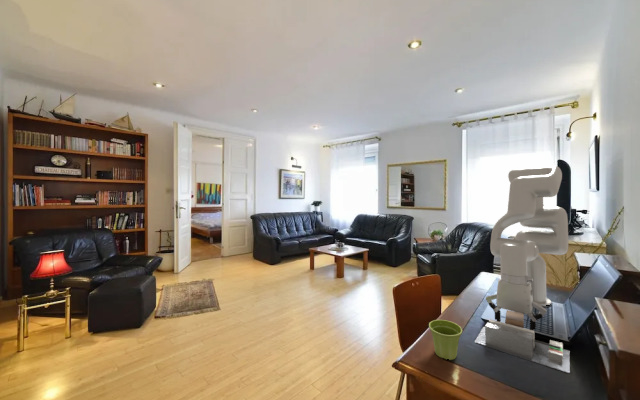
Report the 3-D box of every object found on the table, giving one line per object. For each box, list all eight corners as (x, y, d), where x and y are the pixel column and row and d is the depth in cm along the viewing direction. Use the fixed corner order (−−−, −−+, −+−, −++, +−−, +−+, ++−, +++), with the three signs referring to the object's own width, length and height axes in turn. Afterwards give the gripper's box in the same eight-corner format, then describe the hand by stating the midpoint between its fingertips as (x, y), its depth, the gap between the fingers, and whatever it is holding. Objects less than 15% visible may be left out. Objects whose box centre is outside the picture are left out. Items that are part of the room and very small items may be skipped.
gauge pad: (490, 333, 91) (490, 319, 91) (560, 354, 78) (560, 337, 78) (489, 335, 90) (489, 320, 90) (560, 356, 77) (560, 339, 77)
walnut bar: (506, 323, 98) (506, 310, 98) (523, 327, 95) (523, 313, 95) (505, 337, 89) (505, 322, 89) (523, 342, 86) (523, 326, 86)
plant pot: (470, 361, 77) (469, 332, 77) (441, 366, 76) (440, 337, 76) (449, 343, 87) (448, 318, 86) (423, 347, 85) (422, 321, 85)
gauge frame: (483, 327, 96) (483, 310, 96) (569, 351, 80) (569, 331, 80) (474, 342, 87) (474, 324, 87) (569, 373, 71) (569, 351, 71)
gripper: (547, 280, 88) (547, 330, 88) (487, 271, 100) (488, 315, 100) (545, 286, 83) (546, 340, 83) (482, 276, 95) (483, 322, 95)
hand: (514, 326), depth 92 cm, fingers open, 9 cm apart
